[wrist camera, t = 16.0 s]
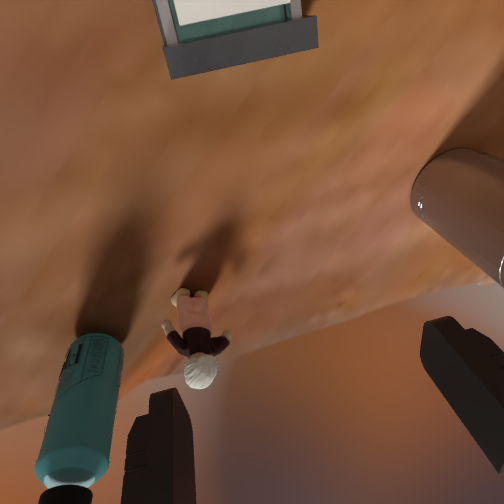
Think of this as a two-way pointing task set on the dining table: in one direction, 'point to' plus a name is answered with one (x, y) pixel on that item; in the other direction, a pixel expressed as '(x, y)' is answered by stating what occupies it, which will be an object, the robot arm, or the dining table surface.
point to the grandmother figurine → (196, 337)
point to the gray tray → (233, 37)
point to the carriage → (217, 8)
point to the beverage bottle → (81, 421)
